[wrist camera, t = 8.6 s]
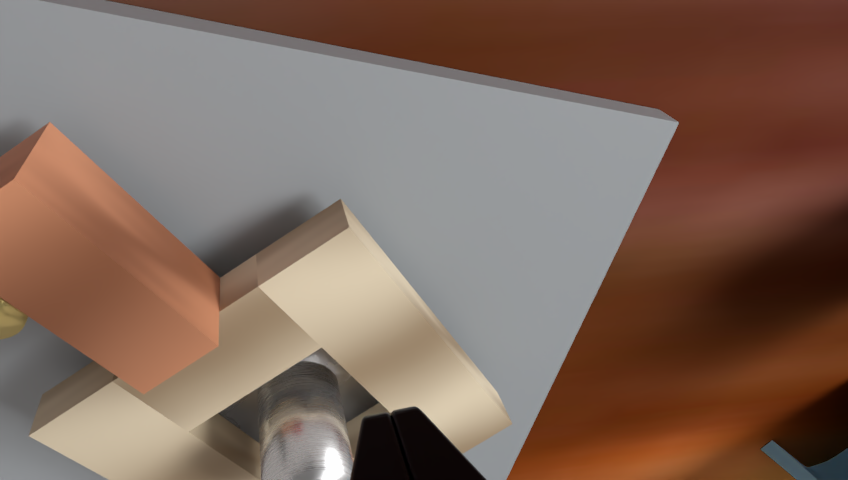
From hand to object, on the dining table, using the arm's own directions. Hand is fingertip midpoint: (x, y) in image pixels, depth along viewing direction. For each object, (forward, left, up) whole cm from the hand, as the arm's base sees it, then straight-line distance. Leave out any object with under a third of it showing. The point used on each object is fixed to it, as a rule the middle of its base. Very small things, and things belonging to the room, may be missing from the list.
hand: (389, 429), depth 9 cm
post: (-9, -1, -11) cm, 14 cm away
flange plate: (-7, +1, -10) cm, 12 cm away
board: (-9, -1, -12) cm, 15 cm away
